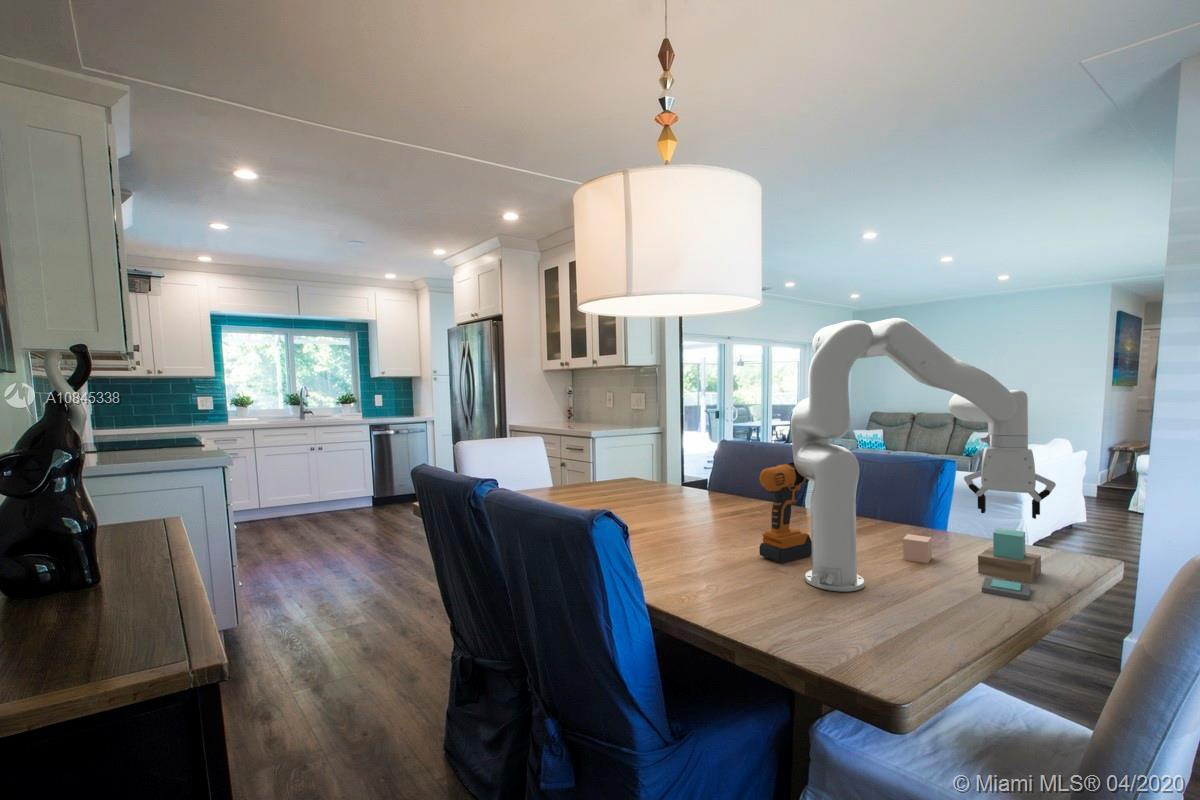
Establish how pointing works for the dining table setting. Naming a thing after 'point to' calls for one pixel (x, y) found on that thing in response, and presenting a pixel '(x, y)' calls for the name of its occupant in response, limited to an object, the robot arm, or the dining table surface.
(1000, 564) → the walnut block
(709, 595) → the dining table surface
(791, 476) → the power drill
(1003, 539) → the teal block
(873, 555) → the dining table surface
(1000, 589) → the tile
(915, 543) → the terracotta block
